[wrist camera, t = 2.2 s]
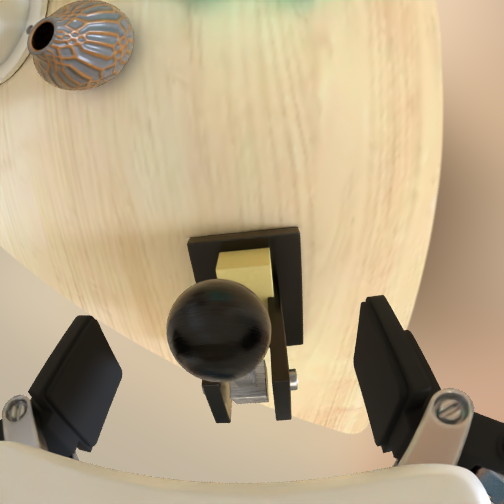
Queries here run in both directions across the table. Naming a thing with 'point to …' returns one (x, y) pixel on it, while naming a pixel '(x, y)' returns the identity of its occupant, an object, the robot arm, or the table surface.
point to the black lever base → (279, 307)
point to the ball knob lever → (222, 337)
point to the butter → (248, 270)
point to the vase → (81, 45)
